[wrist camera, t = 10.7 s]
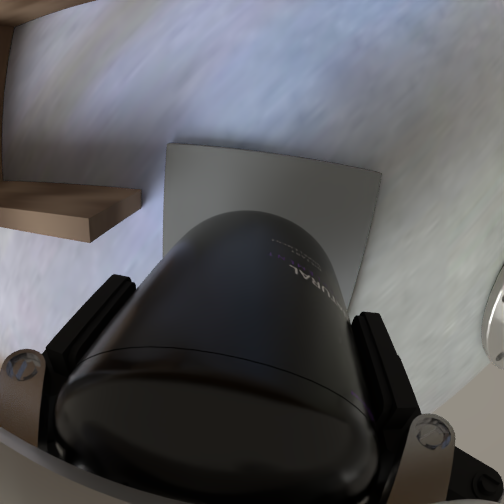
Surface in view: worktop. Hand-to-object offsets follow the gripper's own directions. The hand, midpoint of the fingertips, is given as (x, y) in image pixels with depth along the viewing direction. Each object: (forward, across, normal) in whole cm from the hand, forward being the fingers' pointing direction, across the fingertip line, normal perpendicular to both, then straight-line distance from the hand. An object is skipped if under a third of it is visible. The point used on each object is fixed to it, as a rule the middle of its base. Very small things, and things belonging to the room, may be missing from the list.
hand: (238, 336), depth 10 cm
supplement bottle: (+3, 0, 0) cm, 3 cm away
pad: (+7, 0, 0) cm, 7 cm away
